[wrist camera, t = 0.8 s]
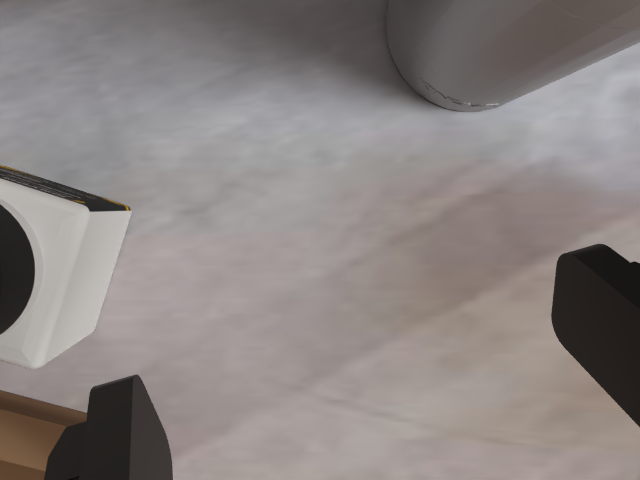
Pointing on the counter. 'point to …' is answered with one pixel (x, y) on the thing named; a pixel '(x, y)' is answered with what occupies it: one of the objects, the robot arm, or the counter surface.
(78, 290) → the medicine bottle
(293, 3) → the counter surface
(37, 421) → the tall column
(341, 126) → the counter surface
